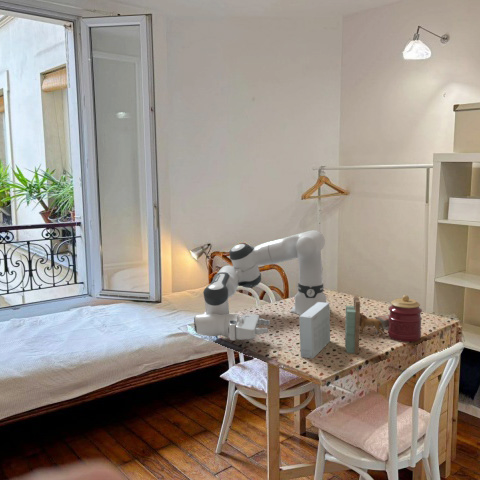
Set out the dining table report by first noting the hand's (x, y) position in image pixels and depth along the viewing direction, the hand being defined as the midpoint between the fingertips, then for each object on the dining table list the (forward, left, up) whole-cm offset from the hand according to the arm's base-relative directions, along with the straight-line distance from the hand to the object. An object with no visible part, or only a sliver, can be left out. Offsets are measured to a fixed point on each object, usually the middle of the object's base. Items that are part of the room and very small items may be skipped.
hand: (269, 326), depth 198 cm
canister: (-16, +54, -8) cm, 57 cm away
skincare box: (+1, +18, -8) cm, 20 cm away
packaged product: (-33, +53, -9) cm, 63 cm away
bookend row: (0, +32, -8) cm, 33 cm away
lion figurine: (-19, +40, -8) cm, 45 cm away
